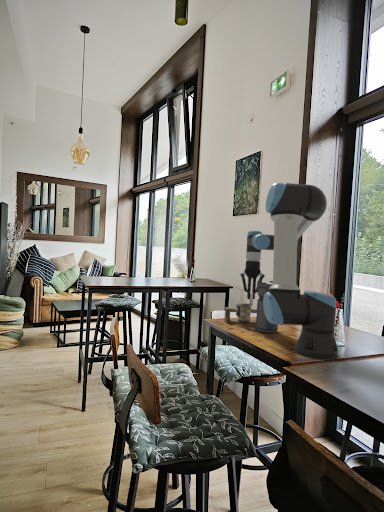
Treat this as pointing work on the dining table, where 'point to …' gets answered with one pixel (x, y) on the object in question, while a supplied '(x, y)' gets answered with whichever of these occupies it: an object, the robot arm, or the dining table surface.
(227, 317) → the pipe stand
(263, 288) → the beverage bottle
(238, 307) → the dark grey flat block
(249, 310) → the sleeve
